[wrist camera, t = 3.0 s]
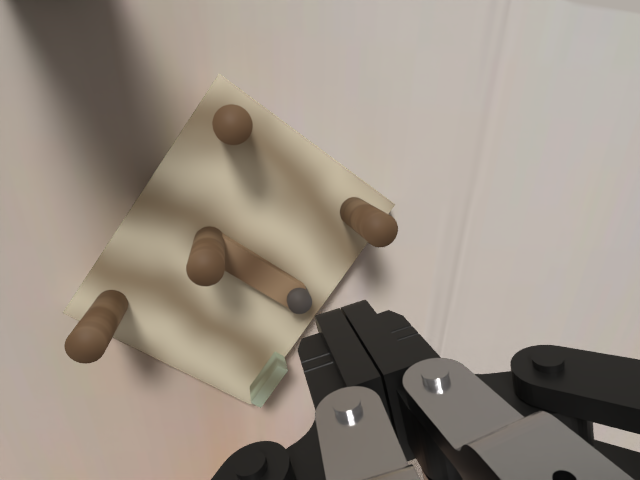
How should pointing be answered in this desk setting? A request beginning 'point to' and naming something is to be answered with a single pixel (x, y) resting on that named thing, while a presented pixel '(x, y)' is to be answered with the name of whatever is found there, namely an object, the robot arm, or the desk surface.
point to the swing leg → (243, 269)
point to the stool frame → (240, 225)
